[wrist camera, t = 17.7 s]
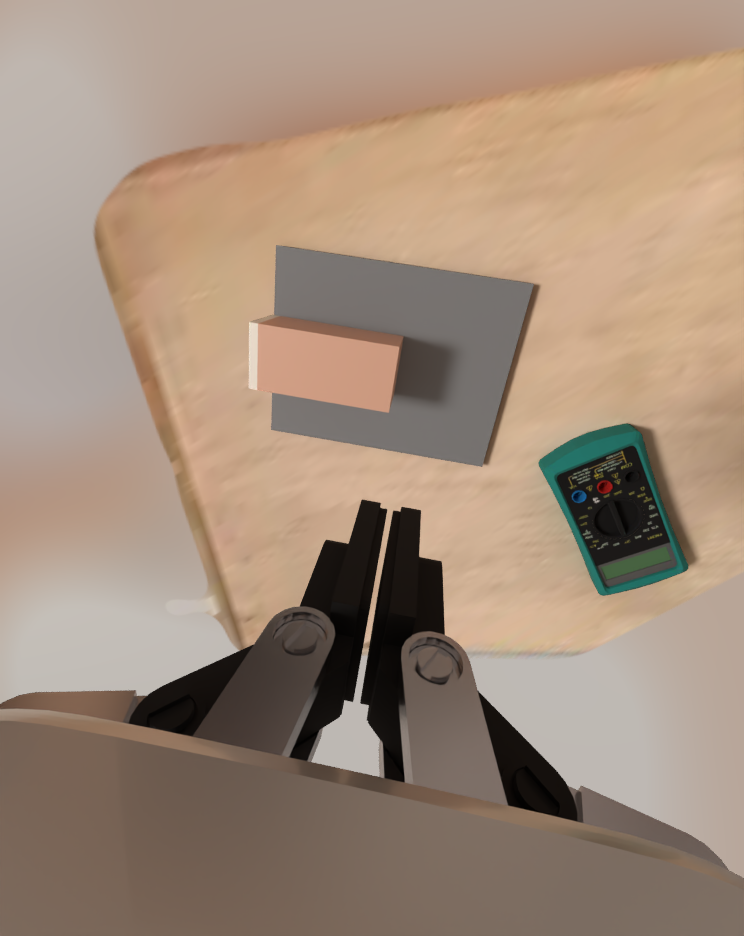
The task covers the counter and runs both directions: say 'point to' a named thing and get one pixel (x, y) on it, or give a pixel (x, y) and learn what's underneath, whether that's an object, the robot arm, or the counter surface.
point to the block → (324, 362)
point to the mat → (407, 350)
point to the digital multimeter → (614, 509)
